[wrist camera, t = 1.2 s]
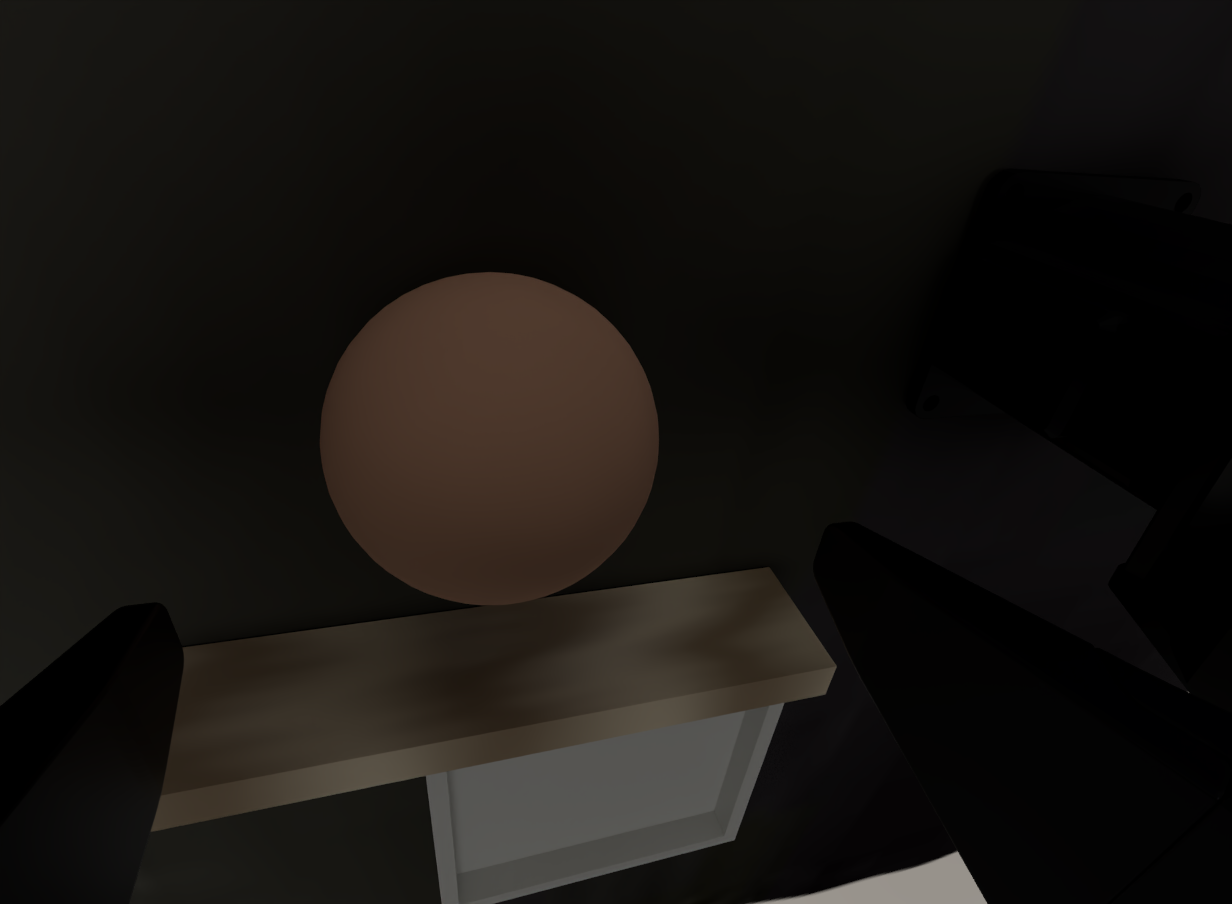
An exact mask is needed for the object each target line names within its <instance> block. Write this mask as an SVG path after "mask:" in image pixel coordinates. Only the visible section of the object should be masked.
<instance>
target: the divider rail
mask: <svg viewBox="0 0 1232 904" xmlns="http://www.w3.org/2000/svg"><path fill="white" fill-rule="evenodd" d="M182 648H183V652H184V669H183V675H182V681H181V687H180V693H179V699H178V704H177V710H176V716H175V722H174V728H173V734H172V739H171V745H170V751H169V757H168V763H167V768H166V774H165V779H164V784H163V789H162V793H161V797H160V801H159V804H158V808H157V812H156V815H155V819H154V822H153V826H152V829H151V832H152V831H157V830H162V829H167V828H172V827H177V826H182V825H187V824H192V823H197V822H201V821H206V820H211V819H216V818H221V817H226V816H231V815H236V814H241V813H246V812H250V811H255V810H260V809H265V808H270V807H275V806H280V805H285V804H290V803H295V802H300V801H304V800H309V799H314V798H319V797H324V796H329V795H334V794H339V793H344V792H349V791H354V790H358V789H363V788H368V787H373V786H378V785H383V784H388V783H393V782H398V781H403V780H407V779H412V778H417V777H422V776H427V775H432V774H437V773H442V772H447V771H452V770H457V769H461V768H466V767H471V766H476V765H481V764H486V763H491V762H496V761H501V760H506V759H510V758H515V757H520V756H525V755H530V754H535V753H540V752H545V751H550V750H555V749H560V748H564V747H569V746H574V745H579V744H584V743H589V742H594V741H599V740H604V739H609V738H614V737H618V736H623V735H628V734H633V733H638V732H643V731H648V730H653V729H658V728H663V727H667V726H672V725H677V724H682V723H687V722H692V721H697V720H702V719H707V718H712V717H717V716H721V715H726V714H731V713H736V712H741V711H746V710H751V709H756V708H761V707H766V706H770V705H775V704H780V703H785V702H790V701H795V700H800V699H805V698H810V697H815V696H820V695H824V694H826V691H827V689H828V686H829V684H830V682H831V679H832V677H833V674H834V672H835V669H836V667H837V666H836V665H835V663H834V662H833V660H832V659H831V657H830V656H829V654H828V653H827V651H826V650H825V648H824V647H823V645H822V644H821V642H820V641H819V640H818V638H817V637H816V635H815V634H814V632H813V631H812V629H811V628H810V626H809V625H808V623H807V622H806V620H805V619H804V617H803V616H802V614H801V613H800V611H799V610H798V609H797V607H796V606H795V604H794V603H793V601H792V600H791V598H790V597H789V595H788V594H787V592H786V591H785V589H784V588H783V586H782V585H781V583H780V582H779V580H778V579H777V578H776V576H775V575H774V573H773V572H772V570H771V569H770V567H766V568H758V569H751V570H744V571H736V572H729V573H722V574H715V575H707V576H700V577H693V578H685V579H678V580H671V581H664V582H656V583H649V584H642V585H634V586H627V587H620V588H613V589H605V590H598V591H591V592H583V593H576V594H569V595H562V596H554V597H547V598H540V599H534V600H531V601H526V602H521V603H515V604H507V605H489V606H481V607H474V608H467V609H459V610H452V611H445V612H438V613H430V614H423V615H416V616H408V617H401V618H394V619H387V620H379V621H372V622H365V623H357V624H350V625H343V626H336V627H328V628H321V629H314V630H306V631H299V632H292V633H285V634H277V635H270V636H263V637H255V638H248V639H241V640H233V641H226V642H219V643H212V644H204V645H197V646H190V647H182Z"/></svg>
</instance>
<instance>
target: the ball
mask: <svg viewBox="0 0 1232 904" xmlns="http://www.w3.org/2000/svg"><path fill="white" fill-rule="evenodd" d="M658 450H659V429H658V416H657V412H656V407H655V403H654V399H653V395H652V391H651V387H650V384H649V382H648V379H647V377H646V374H645V372H644V370H643V368H642V366H641V364H640V362H639V360H638V359H637V357H636V355H635V354H634V352H633V350H632V348H631V347H630V345H629V344H628V342H627V341H626V340H625V339H624V338H623V336H622V335H621V334H620V333H619V331H618V330H617V329H616V328H615V327H614V326H613V325H612V324H611V323H610V322H609V321H608V320H607V319H606V318H605V317H604V316H603V315H602V314H601V313H599V312H598V311H597V310H596V309H595V308H593V307H592V306H591V305H589V304H588V303H586V302H585V301H583V300H582V299H580V298H579V297H577V296H575V295H573V294H571V293H569V292H567V291H565V290H563V289H561V288H559V287H557V286H555V285H553V284H550V283H547V282H544V281H541V280H538V279H536V278H532V277H527V276H522V275H517V274H511V273H496V272H483V273H467V274H462V275H457V276H452V277H446V278H443V279H440V280H437V281H434V282H431V283H428V284H425V285H422V286H420V287H418V288H416V289H414V290H412V291H410V292H408V293H406V294H404V295H402V296H401V297H399V298H398V299H396V300H394V301H393V302H391V303H390V304H388V305H387V306H385V307H384V308H383V309H382V310H381V311H380V312H379V313H377V314H376V315H375V316H374V317H373V318H372V319H371V320H369V321H368V323H367V324H366V325H365V326H364V327H363V328H362V330H361V331H360V332H359V333H358V334H357V336H356V337H355V338H354V339H353V340H352V341H351V343H350V344H349V345H348V347H347V349H346V350H345V352H344V354H343V355H342V357H341V359H340V360H339V362H338V364H337V366H336V369H335V371H334V374H333V376H332V378H331V381H330V383H329V386H328V389H327V392H326V396H325V400H324V404H323V409H322V416H321V431H320V451H321V461H322V467H323V472H324V476H325V480H326V483H327V487H328V491H329V494H330V497H331V499H332V501H333V503H334V505H335V507H336V509H337V512H338V514H339V515H340V517H341V519H342V521H343V523H344V525H345V526H346V528H347V529H348V531H349V532H350V534H351V535H352V537H353V538H354V539H355V540H356V541H357V543H358V544H359V545H360V546H361V547H362V548H363V549H364V550H365V551H366V552H367V554H368V555H369V556H370V557H371V558H372V559H373V560H374V561H375V562H376V563H378V564H379V565H380V566H381V567H382V568H384V569H385V570H386V571H387V572H389V573H390V574H392V575H394V576H395V577H397V578H398V579H400V580H402V581H403V582H405V583H406V584H408V585H410V586H411V587H414V588H416V589H418V590H420V591H422V592H425V593H427V594H430V595H433V596H436V597H439V598H442V599H446V600H450V601H455V602H460V603H465V604H474V605H507V604H515V603H521V602H526V601H531V600H534V599H538V598H541V597H545V596H547V595H550V594H553V593H555V592H558V591H560V590H562V589H564V588H566V587H568V586H570V585H572V584H574V583H576V582H577V581H579V580H581V579H582V578H584V577H586V576H587V575H588V574H590V573H591V572H592V571H594V570H595V569H596V568H598V567H599V566H600V565H601V564H602V563H603V562H604V561H605V560H606V559H607V558H608V557H609V556H611V555H612V554H613V553H614V552H615V551H616V549H617V548H618V547H619V546H620V545H621V544H622V543H623V541H624V540H625V539H626V537H627V536H628V535H629V533H630V532H631V530H632V529H633V527H634V525H635V524H636V522H637V520H638V518H639V516H640V514H641V512H642V510H643V509H644V507H645V505H646V502H647V500H648V497H649V494H650V491H651V489H652V485H653V480H654V476H655V472H656V467H657V463H658Z"/></svg>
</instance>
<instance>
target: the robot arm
mask: <svg viewBox="0 0 1232 904" xmlns="http://www.w3.org/2000/svg"><path fill="white" fill-rule="evenodd" d="M1009 188H1011V190H1010V193H1009V195H1008V196H1007V198H1006V199H1005V195H1006V193H1007V191H1008V190H1009ZM1200 195H1201V188H1200V185H1199V184H1197V183H1195V182H1191V181H1186V180H1181V179H1168V178H1152V177H1135V176H1119V175H1103V174H1086V173H1070V172H1054V171H1037V170H1021V169H1007V170H1003V171H1001V172H999V173H998V174H996V175H995V176H994V177H993V178H992V179H991V181H990V182H989V183H988V185H987V187H986V189H985V191H984V194H983V196H982V199H981V202H980V204H979V207H978V210H977V212H976V215H975V218H974V220H973V223H972V226H971V228H970V231H969V234H968V236H967V239H966V242H965V244H964V247H963V250H962V252H961V255H960V258H959V260H958V263H957V266H956V268H955V271H954V274H953V276H952V279H951V282H950V284H949V287H948V290H947V292H946V295H945V298H944V300H943V303H942V306H941V308H940V311H939V314H938V316H937V319H936V322H935V324H934V327H933V330H932V332H931V335H930V338H929V340H928V343H927V346H926V348H925V351H924V354H923V356H922V359H921V362H920V364H919V367H918V370H917V372H916V375H915V378H914V380H913V383H912V386H911V388H910V391H909V394H908V396H907V401H906V405H907V408H908V409H909V410H910V411H911V412H912V413H914V414H915V415H916V416H918V417H919V418H923V419H930V418H944V417H958V416H972V415H986V414H1000V413H1007V414H1008V415H1010V416H1011V417H1013V418H1015V419H1016V420H1018V421H1019V422H1021V423H1022V424H1024V425H1025V426H1027V427H1029V428H1030V429H1032V430H1033V431H1035V432H1036V433H1038V434H1039V435H1041V436H1043V437H1044V438H1046V439H1047V440H1049V441H1050V442H1052V443H1053V444H1055V445H1057V446H1058V447H1060V448H1061V449H1063V450H1064V451H1066V452H1067V453H1069V454H1071V455H1072V456H1074V457H1075V458H1077V459H1078V460H1080V461H1081V462H1083V463H1085V464H1086V465H1088V466H1089V467H1091V468H1092V469H1094V470H1095V471H1097V472H1099V473H1100V474H1102V475H1103V476H1105V477H1106V478H1108V479H1109V480H1111V481H1113V482H1114V483H1116V484H1117V485H1119V486H1120V487H1122V488H1123V489H1125V490H1127V491H1128V492H1130V493H1131V494H1133V495H1134V496H1136V497H1137V498H1139V499H1141V500H1142V501H1144V502H1145V503H1147V504H1148V505H1150V506H1151V507H1153V508H1155V509H1156V510H1157V512H1156V513H1155V515H1154V517H1153V518H1152V520H1151V522H1150V523H1149V525H1148V527H1147V528H1146V530H1145V532H1144V533H1143V535H1142V537H1141V538H1140V540H1139V542H1138V543H1137V545H1136V547H1135V548H1134V550H1133V552H1132V553H1131V555H1130V557H1129V558H1128V560H1127V562H1126V563H1123V564H1120V565H1119V566H1118V567H1117V569H1116V571H1115V572H1114V574H1113V576H1112V577H1111V579H1110V581H1109V583H1108V585H1109V587H1110V589H1111V590H1112V592H1113V593H1114V594H1115V596H1116V597H1117V598H1118V599H1119V601H1120V602H1121V603H1122V605H1123V606H1124V607H1125V609H1126V610H1127V611H1128V613H1129V614H1130V615H1131V617H1132V618H1133V619H1134V620H1135V622H1136V623H1137V624H1138V626H1139V627H1140V628H1141V630H1142V631H1143V632H1144V634H1145V635H1146V636H1147V638H1148V639H1149V640H1150V641H1151V643H1152V644H1153V645H1154V647H1155V648H1156V649H1157V651H1158V652H1159V653H1160V655H1161V656H1162V657H1163V659H1164V660H1165V661H1166V663H1167V664H1168V665H1169V666H1170V668H1171V669H1172V670H1173V672H1174V673H1175V674H1176V676H1177V677H1178V678H1179V680H1180V681H1181V682H1182V684H1183V685H1184V686H1185V687H1186V689H1187V690H1188V691H1189V693H1188V692H1186V691H1184V690H1182V689H1180V688H1177V687H1175V686H1173V685H1171V684H1169V683H1167V682H1165V681H1163V680H1161V679H1159V678H1157V677H1155V676H1153V675H1151V674H1149V673H1147V672H1145V671H1143V670H1141V669H1139V668H1137V667H1135V666H1133V665H1131V664H1129V663H1127V662H1125V661H1123V660H1121V659H1119V658H1118V657H1116V656H1114V655H1112V654H1110V653H1108V652H1106V651H1104V650H1102V649H1100V648H1094V646H1093V645H1092V644H1090V643H1088V642H1086V641H1084V640H1083V639H1081V638H1079V637H1077V636H1075V635H1073V634H1071V633H1069V632H1067V631H1065V630H1063V629H1061V628H1059V627H1057V626H1055V625H1053V624H1052V623H1050V622H1048V621H1046V620H1044V619H1042V618H1040V617H1038V616H1036V615H1034V614H1032V613H1030V612H1028V611H1026V610H1024V609H1022V608H1021V607H1019V606H1017V605H1015V604H1013V603H1011V602H1009V601H1007V600H1005V599H1003V598H1001V597H999V596H997V595H995V594H993V593H991V592H990V591H988V590H986V589H984V588H982V587H980V586H978V585H976V584H974V583H972V582H970V581H968V580H966V579H964V578H962V577H960V576H959V575H957V574H955V573H953V572H951V571H949V570H947V569H945V568H943V567H941V566H939V565H937V564H935V563H933V562H931V561H929V560H928V559H926V558H924V557H922V556H920V555H918V554H916V553H914V552H912V551H910V550H908V549H906V548H904V547H902V546H900V545H899V544H897V543H895V542H893V541H891V540H889V539H887V538H885V537H883V536H881V535H879V534H877V533H875V532H873V531H871V530H869V529H868V528H866V527H864V526H862V525H860V524H858V523H856V522H841V523H833V524H830V525H828V526H827V528H826V529H825V531H824V533H823V536H822V539H821V542H820V545H819V548H818V551H817V554H816V557H815V560H814V563H813V572H814V577H815V580H816V582H817V584H818V586H819V589H820V591H821V593H822V596H823V598H824V600H825V602H826V605H827V607H828V609H829V612H830V614H831V616H832V618H833V621H834V623H835V625H836V628H837V630H838V632H839V634H840V637H841V639H842V641H843V644H844V646H845V648H846V650H847V652H848V655H849V657H850V659H851V661H852V663H853V665H854V667H855V669H856V671H857V672H858V674H859V676H860V678H861V680H862V682H863V683H864V685H865V687H866V689H867V690H868V692H869V694H870V696H871V698H872V699H873V701H874V703H875V705H876V706H877V708H878V710H879V712H880V714H881V715H882V717H883V719H884V721H885V722H886V724H887V726H888V728H889V730H890V731H891V733H892V735H893V737H894V738H895V740H896V742H897V744H898V746H899V747H900V749H901V751H902V753H903V754H904V756H905V758H906V760H907V762H908V763H909V765H910V767H911V769H912V770H913V772H914V774H915V776H916V778H917V779H918V781H919V783H920V785H921V786H922V788H923V790H924V792H925V794H926V795H927V797H928V799H929V801H930V802H931V804H932V806H933V808H934V810H935V811H936V813H937V815H938V817H939V818H940V820H941V822H942V824H943V826H944V827H945V829H946V831H947V833H948V834H949V836H950V838H951V840H952V842H953V843H954V845H955V847H956V849H957V850H958V852H959V854H960V856H961V857H962V859H963V861H964V863H965V865H966V866H967V868H968V870H969V872H970V873H971V875H972V877H973V879H974V881H975V882H976V884H977V886H978V888H979V890H980V891H981V893H982V894H983V897H984V898H985V900H986V902H987V904H1232V225H1231V224H1226V223H1222V222H1218V221H1214V220H1210V219H1206V218H1202V217H1197V216H1193V215H1191V214H1192V212H1193V210H1194V209H1195V207H1196V205H1197V203H1198V201H1199V198H1200ZM927 398H928V399H927ZM926 399H927V400H926ZM183 669H184V652H183V648H182V645H181V643H180V640H179V638H178V635H177V633H176V630H175V628H174V626H173V623H172V621H171V618H170V616H169V613H168V611H167V609H166V608H165V607H164V606H163V605H162V604H160V603H145V604H137V605H128V606H124V607H120V608H118V609H117V610H115V611H114V612H112V613H111V614H110V615H109V616H108V617H107V618H105V619H104V620H103V621H102V622H101V623H99V624H98V625H97V626H96V627H95V628H93V629H92V630H91V631H90V632H89V633H87V634H86V635H85V636H84V637H83V638H81V639H80V640H79V641H78V642H77V643H75V644H74V645H73V646H72V647H71V648H69V649H68V650H67V651H66V652H65V653H63V654H62V655H61V656H60V657H59V658H57V659H56V660H55V661H54V662H53V663H51V664H50V665H49V666H48V667H47V668H45V669H44V670H43V671H42V672H41V673H39V674H38V675H37V676H36V677H35V678H33V679H32V680H31V681H30V682H29V683H27V684H26V685H25V686H24V687H23V688H21V689H20V690H19V691H18V692H17V693H15V694H14V695H13V696H12V697H11V698H9V699H8V700H7V701H6V702H5V703H4V704H2V705H1V706H0V904H129V903H130V899H131V896H132V892H133V889H134V886H135V882H136V879H137V876H138V872H139V869H140V866H141V862H142V859H143V856H144V852H145V849H146V846H147V842H148V839H149V836H150V832H151V829H152V826H153V822H154V819H155V815H156V812H157V808H158V804H159V801H160V797H161V793H162V789H163V784H164V779H165V774H166V768H167V763H168V757H169V751H170V745H171V739H172V734H173V728H174V722H175V716H176V710H177V704H178V699H179V693H180V687H181V681H182V675H183Z"/></svg>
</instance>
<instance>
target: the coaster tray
mask: <svg viewBox="0 0 1232 904" xmlns="http://www.w3.org/2000/svg"><path fill="white" fill-rule="evenodd" d="M783 705H784V703H780V704H775V705H770V706H766V707H761V708H756V709H751V710H746V711H741V712H736V713H731V714H726V715H721V716H717V717H712V718H707V719H702V720H697V721H692V722H687V723H682V724H677V725H672V726H667V727H663V728H658V729H653V730H648V731H643V732H638V733H633V734H628V735H623V736H618V737H614V738H609V739H604V740H599V741H594V742H589V743H584V744H579V745H574V746H569V747H564V748H560V749H555V750H550V751H545V752H540V753H535V754H530V755H525V756H520V757H515V758H510V759H506V760H501V761H496V762H491V763H486V764H481V765H476V766H471V767H466V768H461V769H457V770H452V771H447V772H442V773H437V774H432V775H427V776H426V781H427V789H428V797H429V805H430V813H431V821H432V829H433V837H434V845H435V853H436V861H437V869H438V877H439V885H440V893H441V901H442V904H494V903H498V902H501V901H505V900H509V899H513V898H517V897H520V896H524V895H528V894H532V893H536V892H539V891H543V890H547V889H551V888H554V887H558V886H562V885H566V884H570V883H573V882H577V881H581V880H585V879H589V878H592V877H596V876H600V875H604V874H608V873H611V872H615V871H619V870H623V869H626V868H630V867H634V866H638V865H642V864H645V863H649V862H653V861H657V860H661V859H664V858H668V857H672V856H676V855H680V854H683V853H687V852H691V851H695V850H698V849H702V848H706V847H710V846H714V845H717V844H721V843H725V842H729V841H733V840H735V837H736V834H737V832H738V829H739V826H740V823H741V821H742V818H743V815H744V812H745V810H746V807H747V804H748V801H749V799H750V796H751V793H752V790H753V788H754V785H755V782H756V779H757V777H758V774H759V771H760V768H761V766H762V763H763V760H764V757H765V755H766V752H767V749H768V746H769V744H770V741H771V738H772V735H773V733H774V730H775V727H776V724H777V722H778V719H779V716H780V713H781V711H782V708H783Z"/></svg>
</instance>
